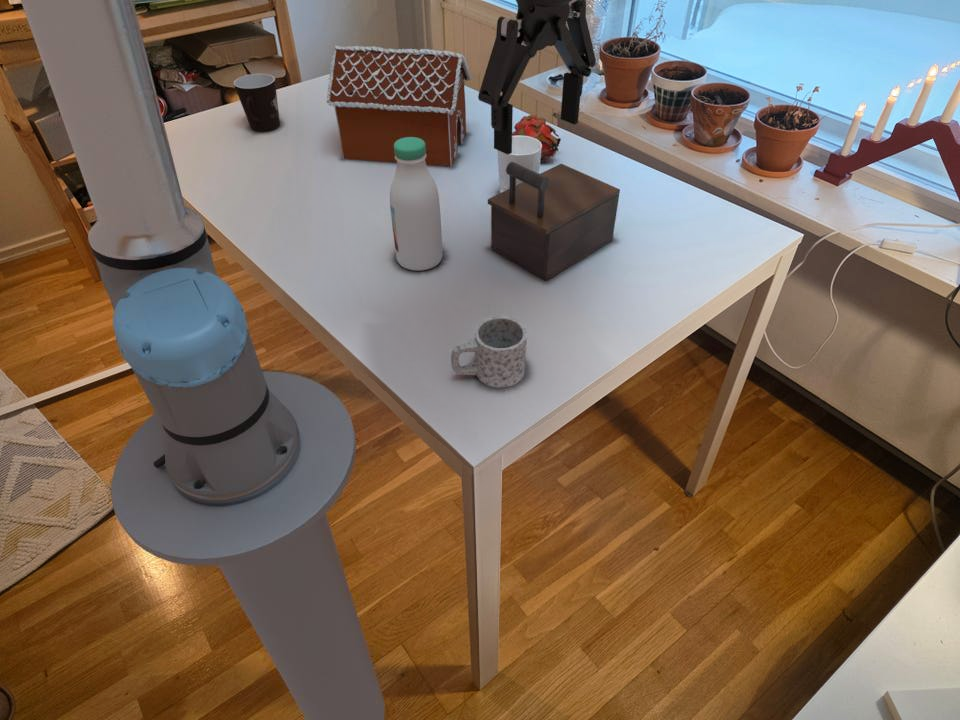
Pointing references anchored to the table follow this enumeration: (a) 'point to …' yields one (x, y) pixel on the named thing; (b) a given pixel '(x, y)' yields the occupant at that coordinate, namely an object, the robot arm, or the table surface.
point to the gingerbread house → (398, 101)
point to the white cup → (519, 158)
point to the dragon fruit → (538, 133)
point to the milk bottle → (415, 208)
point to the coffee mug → (259, 101)
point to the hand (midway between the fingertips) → (537, 135)
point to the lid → (550, 196)
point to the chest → (553, 239)
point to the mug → (495, 352)
